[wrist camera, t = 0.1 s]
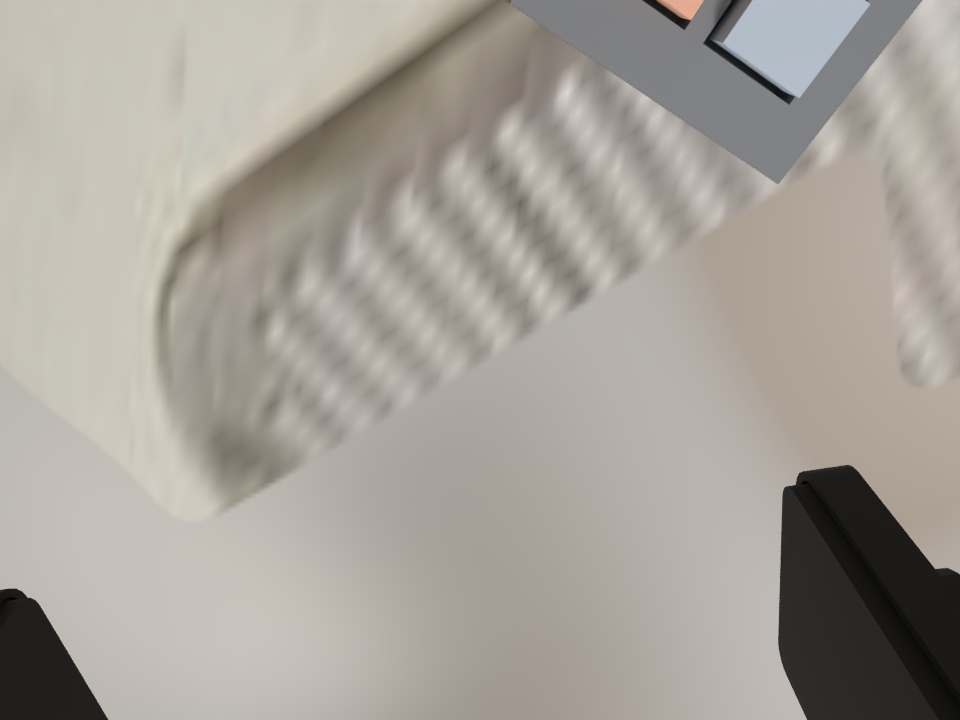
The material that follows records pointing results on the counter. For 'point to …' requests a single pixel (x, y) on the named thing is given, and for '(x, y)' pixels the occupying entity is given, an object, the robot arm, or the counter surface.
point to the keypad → (718, 70)
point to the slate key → (787, 37)
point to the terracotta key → (682, 7)
